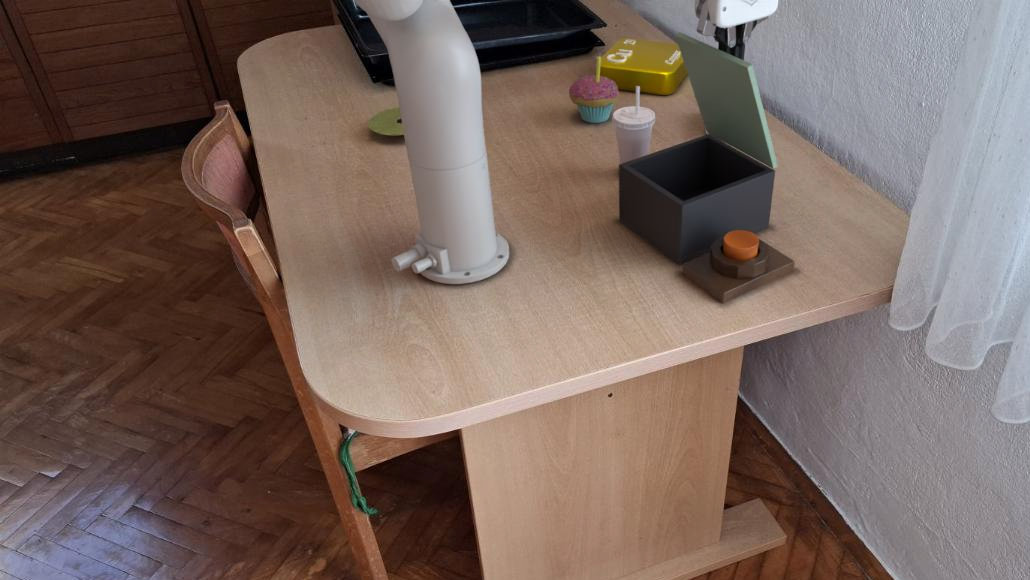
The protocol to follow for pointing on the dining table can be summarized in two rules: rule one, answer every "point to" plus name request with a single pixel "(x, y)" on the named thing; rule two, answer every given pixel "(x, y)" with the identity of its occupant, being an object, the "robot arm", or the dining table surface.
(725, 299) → the switch block
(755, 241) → the button
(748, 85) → the lid
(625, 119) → the smoothie
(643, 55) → the element tile
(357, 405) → the dining table surface
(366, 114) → the dining table surface
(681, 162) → the dark grey hollow box
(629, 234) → the dining table surface
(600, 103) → the cupcake
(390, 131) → the mat
